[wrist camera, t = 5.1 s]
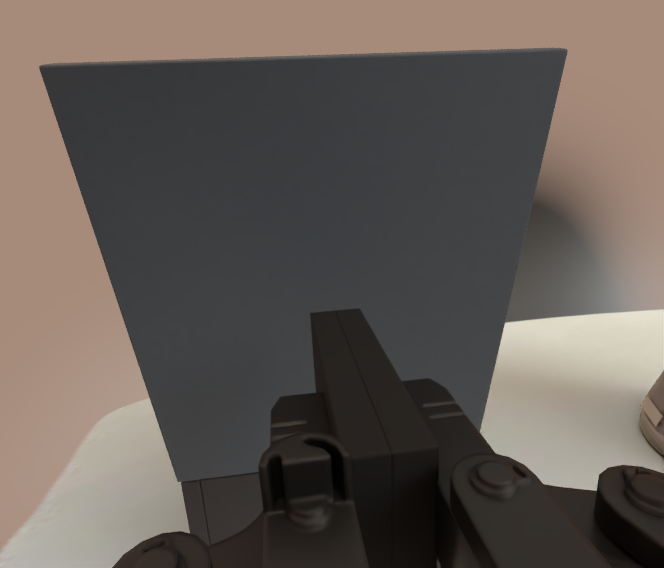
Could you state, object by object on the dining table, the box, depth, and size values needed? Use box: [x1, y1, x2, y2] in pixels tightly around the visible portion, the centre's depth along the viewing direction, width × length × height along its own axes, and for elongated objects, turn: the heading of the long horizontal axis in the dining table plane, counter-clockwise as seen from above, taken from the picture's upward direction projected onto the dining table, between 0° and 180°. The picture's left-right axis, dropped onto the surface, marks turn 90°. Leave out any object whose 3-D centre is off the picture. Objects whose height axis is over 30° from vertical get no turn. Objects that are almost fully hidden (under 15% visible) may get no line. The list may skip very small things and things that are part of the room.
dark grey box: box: [181, 472, 441, 568], centre depth 31 cm, size 17×15×11 cm
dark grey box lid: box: [40, 48, 567, 482], centre depth 17 cm, size 18×15×1 cm
